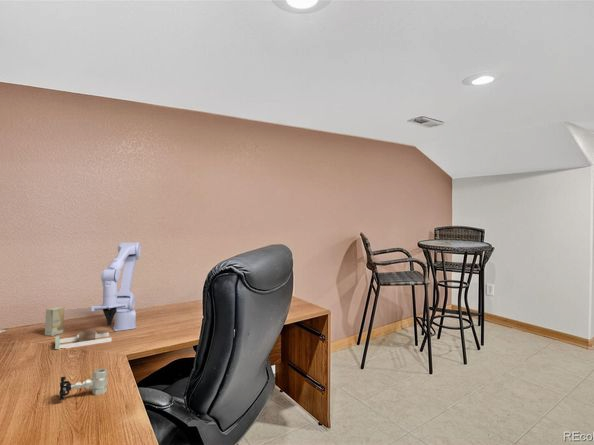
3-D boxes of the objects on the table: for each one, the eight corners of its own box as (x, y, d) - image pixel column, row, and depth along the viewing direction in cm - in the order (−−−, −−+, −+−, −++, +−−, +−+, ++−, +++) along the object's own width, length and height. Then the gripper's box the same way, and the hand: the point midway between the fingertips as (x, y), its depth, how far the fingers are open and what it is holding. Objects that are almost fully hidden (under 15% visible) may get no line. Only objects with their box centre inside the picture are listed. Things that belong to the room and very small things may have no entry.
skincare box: (52, 336, 156) (52, 309, 157) (44, 335, 157) (45, 309, 158) (64, 332, 163) (65, 306, 163) (56, 331, 164) (57, 306, 164)
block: (94, 339, 153) (94, 329, 153) (95, 342, 149) (95, 332, 149) (78, 341, 150) (79, 331, 150) (79, 344, 146) (79, 334, 146)
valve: (107, 386, 108) (61, 395, 102) (107, 365, 108) (62, 373, 102) (107, 395, 102) (58, 405, 96) (108, 373, 102) (59, 381, 96)
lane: (107, 332, 163) (107, 326, 163) (111, 341, 150) (111, 334, 151) (55, 340, 151) (55, 333, 151) (55, 350, 139) (55, 342, 139)
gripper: (92, 298, 148) (91, 329, 147) (129, 295, 156) (128, 324, 155) (91, 295, 153) (90, 325, 153) (126, 292, 162) (125, 321, 161)
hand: (109, 325), depth 155 cm, fingers closed
